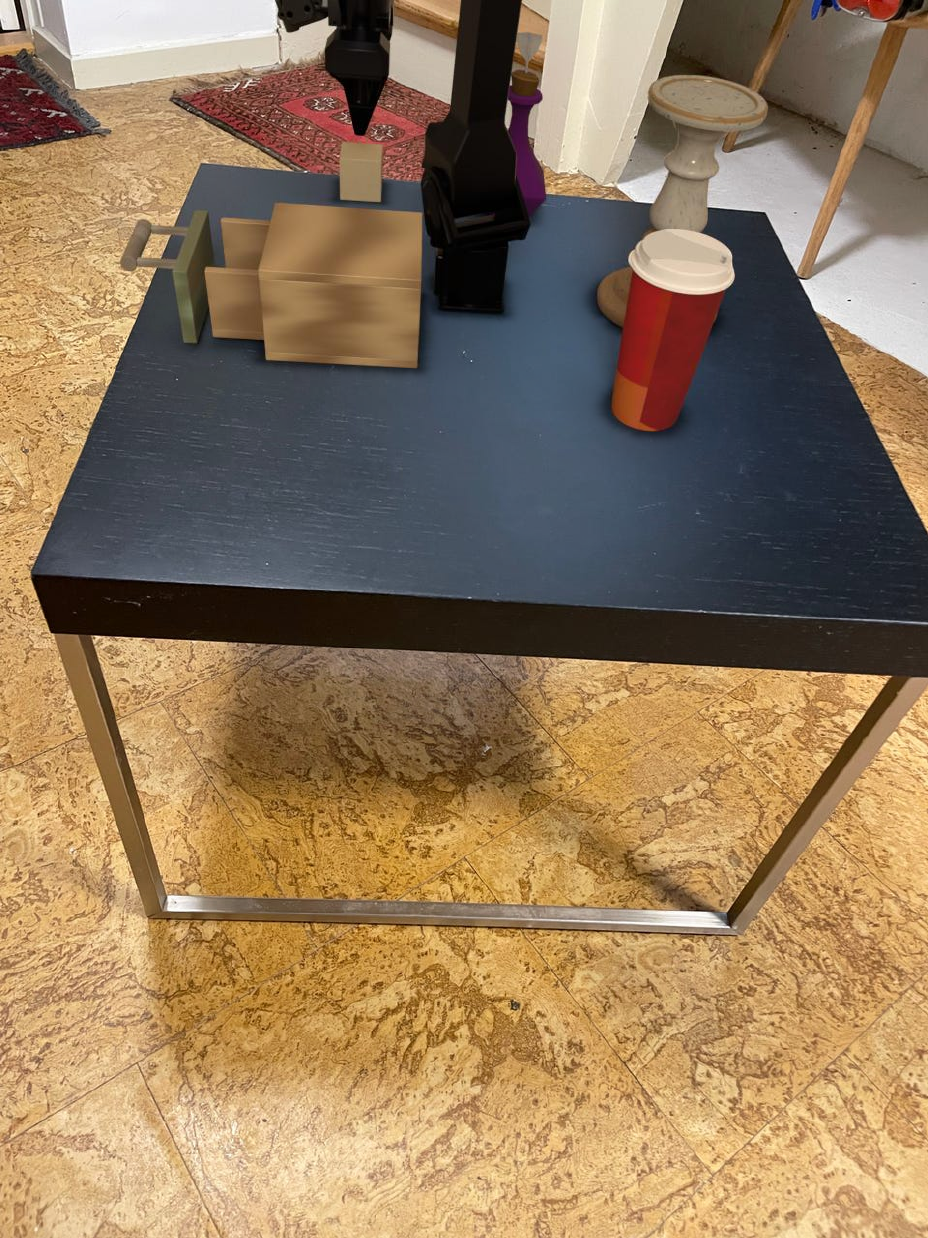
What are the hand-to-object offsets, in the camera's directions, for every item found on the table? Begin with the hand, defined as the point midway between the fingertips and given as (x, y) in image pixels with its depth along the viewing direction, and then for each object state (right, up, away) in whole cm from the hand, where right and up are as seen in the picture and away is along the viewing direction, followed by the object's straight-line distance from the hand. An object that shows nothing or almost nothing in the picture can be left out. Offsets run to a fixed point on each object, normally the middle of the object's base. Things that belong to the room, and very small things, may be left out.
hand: (361, 118), depth 103 cm
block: (-1, -5, +6) cm, 8 cm away
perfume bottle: (+16, -8, +6) cm, 19 cm away
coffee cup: (+27, -36, -19) cm, 49 cm away
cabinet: (0, -27, -13) cm, 30 cm away
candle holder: (+31, -23, -6) cm, 39 cm away
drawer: (-10, -26, -15) cm, 32 cm away
